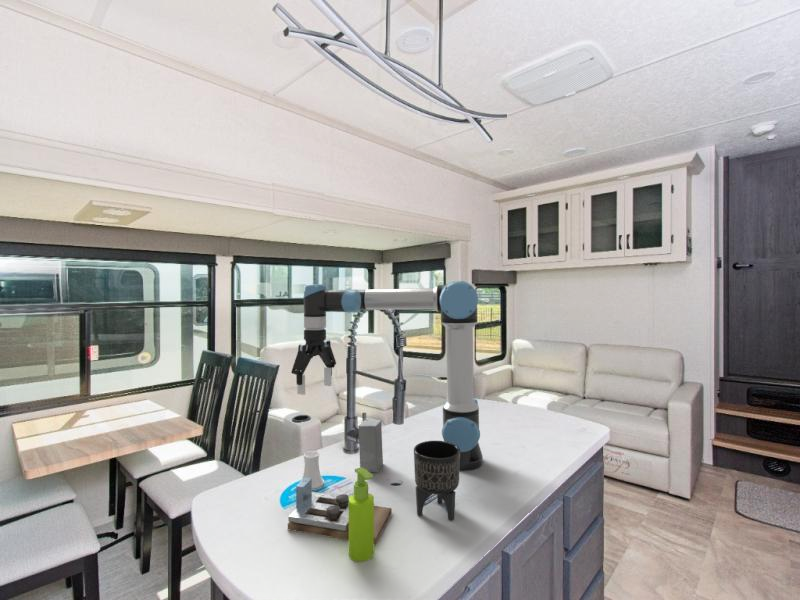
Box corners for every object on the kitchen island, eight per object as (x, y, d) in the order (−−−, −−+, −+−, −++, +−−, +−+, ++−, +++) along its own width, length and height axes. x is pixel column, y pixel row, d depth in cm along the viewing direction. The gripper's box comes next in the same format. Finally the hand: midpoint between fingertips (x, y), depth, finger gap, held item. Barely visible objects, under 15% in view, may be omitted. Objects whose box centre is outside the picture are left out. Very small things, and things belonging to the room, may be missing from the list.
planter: (469, 512, 112) (469, 449, 111) (439, 531, 103) (439, 463, 102) (434, 495, 121) (434, 436, 121) (404, 511, 112) (404, 448, 112)
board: (391, 513, 111) (391, 496, 111) (375, 544, 98) (375, 525, 97) (312, 501, 117) (312, 485, 117) (287, 529, 104) (287, 511, 104)
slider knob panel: (363, 504, 113) (363, 478, 112) (345, 531, 100) (345, 501, 100) (312, 496, 117) (311, 471, 117) (288, 521, 104) (288, 493, 104)
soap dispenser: (359, 567, 89) (358, 479, 89) (344, 551, 95) (343, 468, 94) (381, 557, 93) (380, 472, 92) (365, 542, 98) (365, 461, 98)
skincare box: (377, 473, 135) (377, 427, 135) (357, 471, 137) (357, 425, 136) (383, 462, 143) (383, 419, 143) (364, 461, 145) (364, 417, 144)
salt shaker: (315, 493, 122) (314, 460, 122) (294, 488, 125) (294, 456, 125) (328, 482, 129) (328, 451, 129) (308, 478, 132) (308, 448, 132)
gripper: (329, 325, 151) (329, 381, 152) (280, 331, 130) (280, 396, 130) (345, 326, 148) (345, 383, 148) (297, 332, 126) (297, 399, 126)
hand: (315, 389), depth 139 cm, fingers open, 13 cm apart
